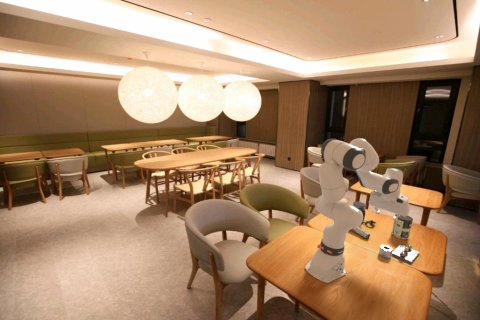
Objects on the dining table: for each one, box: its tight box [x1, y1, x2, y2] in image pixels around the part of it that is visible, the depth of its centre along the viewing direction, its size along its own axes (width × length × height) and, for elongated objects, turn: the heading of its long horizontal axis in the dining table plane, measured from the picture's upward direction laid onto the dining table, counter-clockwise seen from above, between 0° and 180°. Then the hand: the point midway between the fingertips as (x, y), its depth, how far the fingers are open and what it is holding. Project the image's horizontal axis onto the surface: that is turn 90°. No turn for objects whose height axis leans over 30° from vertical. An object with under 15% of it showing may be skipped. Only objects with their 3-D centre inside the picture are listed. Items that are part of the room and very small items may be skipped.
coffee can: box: [391, 213, 414, 240], centre depth 162 cm, size 10×10×14 cm
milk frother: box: [352, 201, 377, 225], centre depth 178 cm, size 14×16×15 cm
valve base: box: [391, 244, 420, 265], centre depth 142 cm, size 15×10×5 cm, turn 129°
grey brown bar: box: [352, 226, 371, 240], centre depth 168 cm, size 5×7×25 cm
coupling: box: [378, 244, 393, 259], centre depth 141 cm, size 6×6×5 cm
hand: (386, 216), depth 137 cm, fingers open, 8 cm apart
